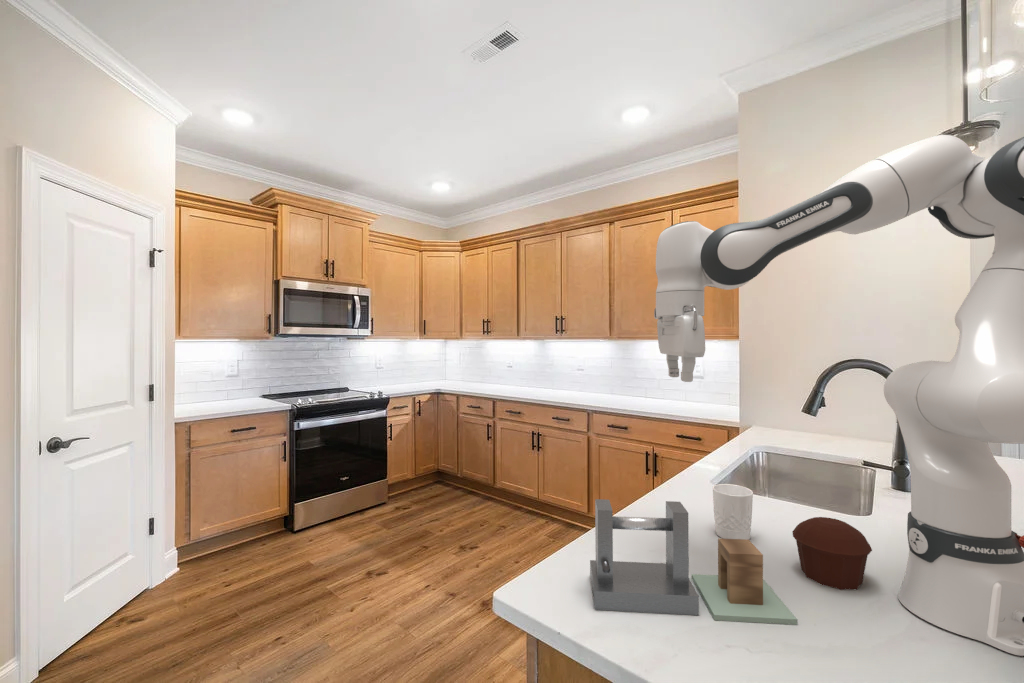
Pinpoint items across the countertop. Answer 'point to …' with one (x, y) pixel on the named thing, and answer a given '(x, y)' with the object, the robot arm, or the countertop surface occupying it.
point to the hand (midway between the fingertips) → (679, 379)
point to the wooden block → (740, 571)
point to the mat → (725, 611)
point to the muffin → (832, 552)
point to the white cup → (732, 511)
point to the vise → (643, 566)
